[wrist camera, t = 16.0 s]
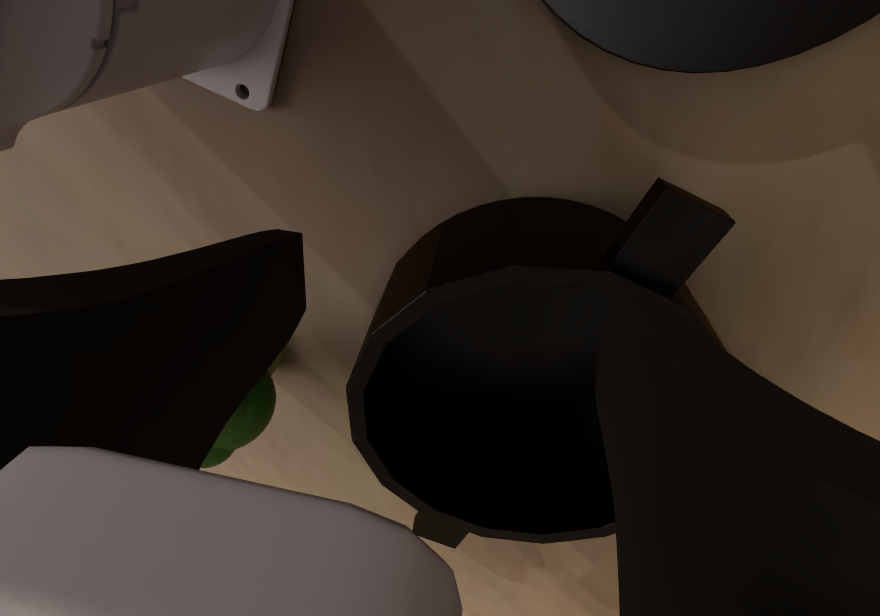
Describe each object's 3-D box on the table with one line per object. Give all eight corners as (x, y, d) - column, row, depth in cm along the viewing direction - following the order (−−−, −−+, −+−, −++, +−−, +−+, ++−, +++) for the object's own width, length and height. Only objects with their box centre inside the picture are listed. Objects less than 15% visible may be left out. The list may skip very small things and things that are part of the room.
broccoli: (209, 364, 27) (134, 460, 22) (224, 292, 24) (143, 382, 19) (289, 394, 28) (236, 496, 22) (313, 328, 25) (259, 425, 19)
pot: (329, 414, 28) (292, 506, 23) (483, 65, 18) (475, 97, 13) (550, 498, 30) (560, 599, 25) (809, 231, 20) (914, 315, 15)
